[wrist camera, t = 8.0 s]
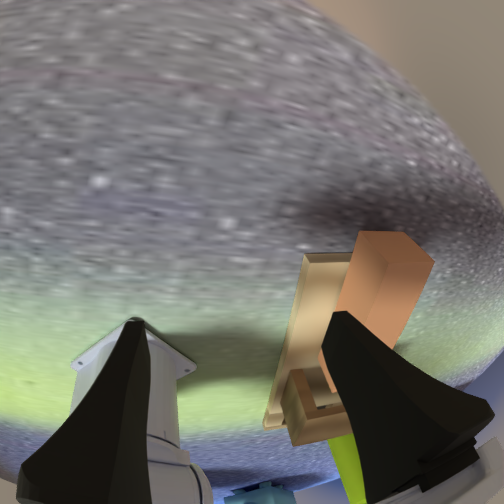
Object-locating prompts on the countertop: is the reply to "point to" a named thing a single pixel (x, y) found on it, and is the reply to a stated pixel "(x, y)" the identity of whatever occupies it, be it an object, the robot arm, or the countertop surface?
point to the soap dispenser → (349, 467)
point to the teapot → (262, 495)
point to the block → (382, 285)
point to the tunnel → (310, 413)
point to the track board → (309, 332)
